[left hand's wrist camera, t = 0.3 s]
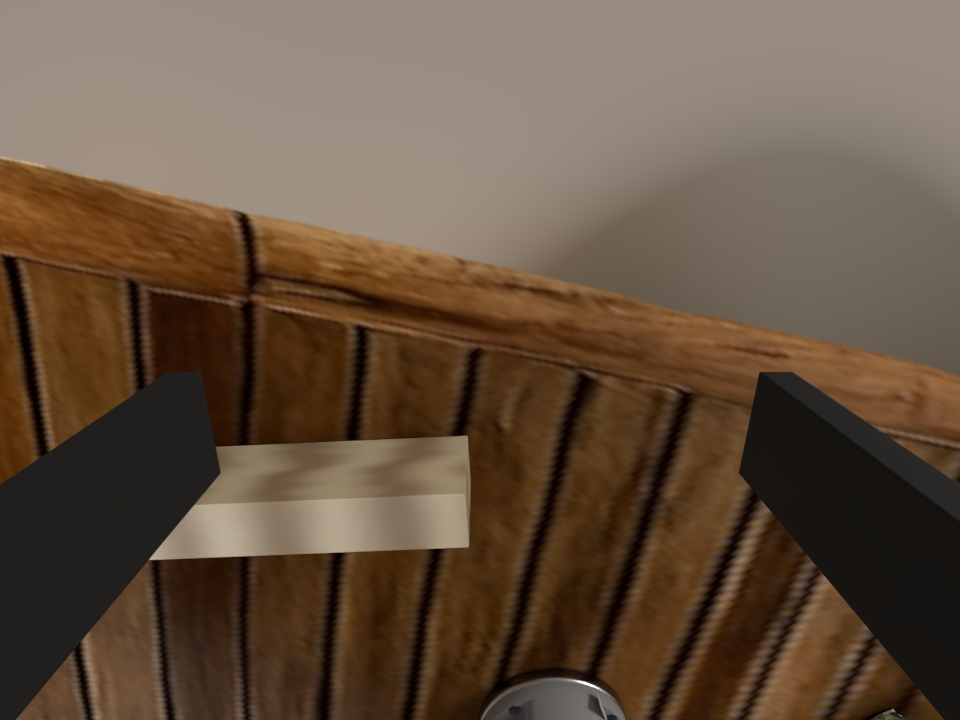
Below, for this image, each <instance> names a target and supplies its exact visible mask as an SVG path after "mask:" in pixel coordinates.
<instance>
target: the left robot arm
mask: <svg viewBox="0 0 960 720" xmlns="http://www.w3.org/2000/svg"><path fill="white" fill-rule="evenodd" d="M220 474H221V471H220V466H219V461H218V456H217V451H216V446H215V441H214V436H213V431H212V427H211V422H210V417H209V412H208V407H207V402H206V397H205V392H204V387H203V383H202V378H201V373H200V372H167V373H166V374H164V375H163V376H161V377H160V378H158V379H157V380H155V381H154V382H152V383H151V384H149V385H148V386H146V387H145V388H143V389H142V390H140V391H139V392H137V393H136V394H134V395H133V396H131V397H130V398H129V399H127V400H126V401H124V402H123V403H121V404H120V405H118V406H117V407H115V408H114V409H112V410H111V411H109V412H108V413H106V414H105V415H103V416H102V417H100V418H99V419H97V420H96V421H94V422H93V423H91V424H90V425H88V426H87V427H85V428H84V429H82V430H81V431H80V432H78V433H77V434H75V435H74V436H72V437H71V438H69V439H68V440H66V441H65V442H63V443H62V444H60V445H59V446H57V447H56V448H54V449H53V450H51V451H50V452H48V453H47V454H45V455H44V456H42V457H41V458H39V459H38V460H36V461H35V462H33V463H32V464H31V465H29V466H28V467H26V468H25V469H23V470H22V471H20V472H19V473H17V474H16V475H14V476H13V477H11V478H10V479H8V480H7V481H5V482H4V483H2V484H1V485H0V720H16V719H17V717H18V716H19V715H20V714H21V713H22V711H23V710H24V709H25V708H26V707H27V705H28V704H29V703H30V702H31V701H32V699H33V698H34V697H35V696H36V695H37V693H38V692H39V691H40V690H41V689H42V687H43V686H44V685H45V684H46V683H47V681H48V680H49V679H50V678H51V677H52V675H53V674H54V673H55V672H56V671H57V669H58V668H59V667H60V666H61V665H62V663H63V662H64V661H65V660H66V659H67V657H68V656H69V655H70V654H71V653H72V651H73V650H74V649H75V648H76V647H77V645H78V644H79V643H80V642H81V641H82V639H83V638H84V637H85V636H86V635H87V633H88V632H89V631H90V630H91V629H92V627H93V626H94V625H95V624H96V623H97V621H98V620H99V619H100V618H101V617H102V615H103V614H104V613H105V612H106V610H107V609H108V608H109V607H110V606H111V604H112V603H113V602H114V601H115V600H116V598H117V597H118V596H119V595H120V594H121V592H122V591H123V590H124V589H125V588H126V586H127V585H128V584H129V583H130V582H131V580H132V579H133V578H134V577H135V576H136V574H137V573H138V572H139V571H140V570H141V568H142V567H143V566H144V565H145V564H146V562H147V561H148V560H149V559H150V558H151V556H152V555H153V554H154V553H155V552H156V550H157V549H158V548H159V547H160V546H161V544H162V543H163V542H164V541H165V540H166V538H167V537H168V536H169V535H170V534H171V532H172V531H173V530H174V529H175V528H176V526H177V525H178V524H179V523H180V522H181V520H182V519H183V518H184V517H185V516H186V514H187V513H188V512H189V511H190V510H191V508H192V507H193V506H194V505H195V504H196V502H197V501H198V500H199V499H200V498H201V496H202V495H203V494H204V493H205V492H206V490H207V489H208V488H209V487H210V486H211V484H212V483H213V482H214V481H215V480H216V478H217V477H218V476H219V475H220ZM739 474H740V475H741V476H742V477H743V478H744V480H745V481H746V482H747V483H748V484H749V486H750V487H751V488H752V489H753V490H754V492H755V493H756V494H757V495H758V496H759V498H760V499H761V500H762V501H763V502H764V504H765V505H766V506H767V507H768V508H769V510H770V511H771V512H772V513H773V514H774V516H775V517H776V518H777V519H778V520H779V522H780V523H781V524H782V525H783V526H784V528H785V529H786V530H787V531H788V532H789V534H790V535H791V536H792V537H793V538H794V540H795V541H796V542H797V543H798V544H799V546H800V547H801V548H802V549H803V550H804V552H805V553H806V554H807V555H808V556H809V558H810V559H811V560H812V561H813V562H814V564H815V565H816V566H817V567H818V568H819V570H820V571H821V572H822V573H823V574H824V576H825V577H826V578H827V579H828V580H829V582H830V583H831V584H832V585H833V586H834V588H835V589H836V590H837V591H838V592H839V594H840V595H841V596H842V597H843V598H844V600H845V601H846V602H847V603H848V604H849V606H850V607H851V608H852V609H853V610H854V612H855V613H856V614H857V615H858V617H859V618H860V619H861V620H862V621H863V623H864V624H865V625H866V626H867V627H868V629H869V630H870V631H871V632H872V633H873V635H874V636H875V637H876V638H877V639H878V641H879V642H880V643H881V644H882V645H883V647H884V648H885V649H886V650H887V651H888V653H889V654H890V655H891V656H892V657H893V659H894V660H895V661H896V662H897V663H898V665H899V666H900V667H901V668H902V669H903V671H904V672H905V673H906V674H907V675H908V677H909V678H910V679H911V680H912V681H913V683H914V684H915V685H916V686H917V687H918V689H919V690H920V691H921V692H922V693H923V695H924V696H925V697H926V698H927V699H928V701H929V702H930V703H931V704H932V705H933V707H934V708H935V709H936V710H937V711H938V713H939V714H940V715H941V716H942V717H943V719H944V720H960V484H959V483H956V482H955V481H953V480H952V479H950V478H949V477H947V476H946V475H944V474H943V473H941V472H940V471H938V470H937V469H935V468H934V467H932V466H931V465H929V464H928V463H927V462H925V461H924V460H922V459H921V458H919V457H918V456H916V455H915V454H913V453H912V452H910V451H909V450H907V449H906V448H904V447H903V446H901V445H900V444H898V443H897V442H895V441H894V440H892V439H891V438H889V437H888V436H886V435H885V434H883V433H882V432H880V431H879V430H878V429H876V428H875V427H873V426H872V425H870V424H869V423H867V422H866V421H864V420H863V419H861V418H860V417H858V416H857V415H855V414H854V413H852V412H851V411H849V410H848V409H846V408H845V407H843V406H842V405H840V404H839V403H837V402H836V401H834V400H833V399H831V398H830V397H829V396H827V395H826V394H824V393H823V392H821V391H820V390H818V389H817V388H815V387H814V386H812V385H811V384H809V383H808V382H806V381H805V380H803V379H802V378H800V377H799V376H797V375H796V374H794V373H793V372H760V373H759V378H758V383H757V387H756V392H755V397H754V402H753V407H752V412H751V417H750V422H749V427H748V431H747V436H746V441H745V446H744V451H743V456H742V461H741V466H740V471H739ZM478 720H626V716H625V712H624V709H623V706H622V703H621V701H620V699H619V698H618V696H617V695H616V694H615V692H614V691H613V690H612V689H611V688H610V687H608V686H607V685H606V684H604V683H603V682H601V681H600V680H598V679H596V678H594V677H591V676H589V675H586V674H583V673H579V672H574V671H568V670H542V671H535V672H531V673H527V674H524V675H520V676H518V677H515V678H513V679H511V680H509V681H507V682H505V683H504V684H502V685H501V686H499V687H498V688H497V689H496V690H494V691H493V692H492V693H491V694H490V695H489V696H488V698H487V699H486V700H485V702H484V704H483V706H482V708H481V710H480V714H479V719H478Z"/></svg>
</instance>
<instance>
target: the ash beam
mask: <svg viewBox="0 0 960 720" xmlns="http://www.w3.org/2000/svg"><path fill="white" fill-rule="evenodd" d="M216 451H217V456H218V461H219V466H220V471H221V474H220V475H219V476H218V477H217V478H216V480H215V481H214V482H213V483H212V484H211V486H210V487H209V488H208V489H207V490H206V492H205V493H204V494H203V495H202V496H201V498H200V499H199V500H198V501H197V502H196V504H195V505H194V506H193V507H192V508H191V510H190V511H189V512H188V513H187V514H186V516H185V517H184V518H183V519H182V520H181V522H180V523H179V524H178V525H177V526H176V528H175V529H174V530H173V531H172V532H171V534H170V535H169V536H168V537H167V538H166V540H165V541H164V542H163V543H162V544H161V546H160V547H159V548H158V549H157V550H156V552H155V553H154V554H153V555H152V556H151V558H150V559H149V560H162V559H187V558H212V557H237V556H262V555H287V554H312V553H337V552H362V551H387V550H412V549H437V548H462V547H469V523H470V489H471V479H470V464H469V449H468V436H451V437H429V438H406V439H383V440H360V441H338V442H315V443H292V444H269V445H246V446H224V447H216Z"/></svg>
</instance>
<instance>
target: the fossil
mask: <svg viewBox="0 0 960 720" xmlns="http://www.w3.org/2000/svg"><path fill="white" fill-rule="evenodd" d="M871 720H906V719H904V718H903V717H902V716H901V715H899V714H897V713H896V712H895V711H894V709H891V710H889V711H886V712H884V713H882V714H879V715H877V716H876V717H874V718H873V719H871Z"/></svg>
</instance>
